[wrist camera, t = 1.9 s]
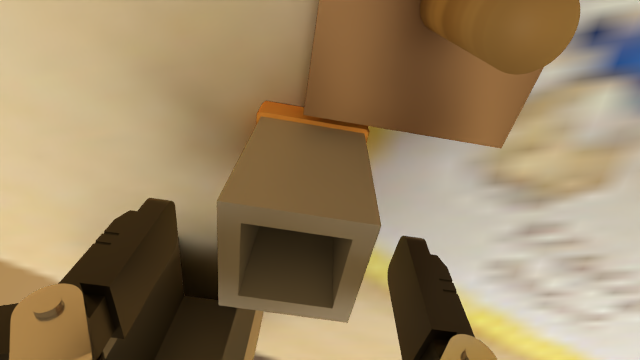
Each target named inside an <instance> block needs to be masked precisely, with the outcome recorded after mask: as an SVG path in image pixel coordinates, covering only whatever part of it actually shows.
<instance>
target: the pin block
mask: <svg viewBox="0 0 640 360" xmlns="http://www.w3.org/2000/svg"><path fill="white" fill-rule="evenodd" d="M579 18H580V3H579V0H319V6H318V13H317V20H316V27H315V35H314V42H313V49H312V56H311V63H310V70H309V77H308V85H307V92H306V99H305V106H304V113H303V115H307V116H313V117H318V118H324V119H330V120H336V121H342V122H348V123H354V124H360V125H366V126H372V127H378V128H384V129H390V130H396V131H402V132H408V133H414V134H420V135H426V136H432V137H437V138H443V139H449V140H455V141H461V142H467V143H473V144H479V145H485V146H491V147H497V148H502V146H503V144H504V142H505V140H506V138H507V136H508V134H509V132H510V130H511V129H512V127H513V125H514V123H515V121H516V119H517V117H518V115H519V113H520V111H521V109H522V108H523V106H524V104H525V102H526V100H527V98H528V96H529V94H530V92H531V90H532V88H533V86H534V85H535V83H536V81H537V79H538V77H539V75H540V73H541V71H542V69H543V67H544V66H546V65H547V64H549V63H550V62H552V61H553V60H554V59H555V58H557V57H558V56H559V55H560V54H561V53H562V52H563V50H564V49H565V48H566V47H567V45H568V44H569V43H570V41H571V39H572V38H573V36H574V34H575V31H576V29H577V26H578V22H579Z"/></svg>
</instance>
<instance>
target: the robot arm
mask: <svg viewBox="0 0 640 360" xmlns="http://www.w3.org/2000/svg"><path fill="white" fill-rule="evenodd" d="M177 238H178V231H177V221H176V211H175V204H174V202H173V201H168V200H161V199H154V198H149V199H147V200H146V201H145V203H144V204H143V205H142V206H141V207H140V209H139V210H138V211H128V212H126V213H125V214H123V215H121V216H120V217H118V218H116V219H115V220H114V221H113V222H112V223H111V224H110V225H109V227H108V228H107V229H106V230H105V231H104V234H102V235H101V236H100V237H99V238H98V239H97V240H96V243H95V244H93V245H92V246H91V247H90V248H89V249H88V251H87V252H86V253H85V254H84V255H83V256H82V257H81V259H80V260H79V261H78V262H77V263H76V264H75V265H74V267H73V268H72V269H71V270H70V271H69V272H68V273H67V275H66V276H65V277H64V278H63V279H62V280H61V281H60V282H59V283H58V284H54V285H50V286H46V287H43V288H41V289H39V290H36V291H34V292H33V293H31V294H30V295H28V296H27V297H25V298H24V299H23V300H22V301H21V302H20V303H17V304H10V305H3V306H0V360H105V356H104V352H103V349H104V348H105V346H106V344H107V343H108V341H109V339H110V338H119V339H125V338H126V336H127V334H128V332H129V330H130V329H131V327H132V325H133V323H134V322H135V320H136V318H137V316H138V314H139V313H140V311H141V309H142V307H143V306H144V304H145V302H146V300H147V298H148V297H149V295H150V293H151V291H152V290H153V288H154V286H155V284H156V282H157V281H158V279H159V277H160V275H161V274H162V272H163V270H164V268H165V266H166V265H167V263H168V261H169V259H170V258H171V256H172V254H173V252H174V250H175V247H176V244H177ZM388 285H389V291H390V296H391V301H392V307H393V312H394V318H395V323H396V328H397V334H398V339H399V344H400V350H401V355H402V360H497V358H496V356H495V355H494V353H493V352H492V351H491V350H490V349H489V347H488V346H486V345H485V344H484V343H483V342H482V341H480V340H478V339H477V338H475V336H474V334H473V332H472V329H471V326H470V324H469V321H468V319H467V316H466V314H465V311H464V309H463V306H462V304H461V301H460V299H459V296H458V294H456V289H455V286H454V284H453V283H452V278H451V276H450V273H449V271H448V268H447V267H446V265H445V264H444V263H443V262H442V261H441V260H440V258H439V257H438V256H437V255H431V254H430V252H429V249H428V247H427V244H426V241H425V240H424V239H422V238H415V237H408V236H402V237H401V238H400V240H399V242H398V245H397V247H396V250H395V252H394V255H393V257H392V259H391V262H390V264H389V268H388Z"/></svg>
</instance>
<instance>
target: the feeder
mask: <svg viewBox="0 0 640 360" xmlns="http://www.w3.org/2000/svg"><path fill="white" fill-rule="evenodd" d="M262 317H263V311H258V310H250V309H243V308H236V307H228V306H221V305H219V304H218V300H213V299H206V298H198V297H191V296H184V287H183V277H182V268H181V258H180V249H179V239H178V238H177V244H176V247H175V250H174V252H173V254H172V256H171V258H170V259H169V261H168V263H167V265H166V266H165V268H164V270H163V272H162V274H161V275H160V277H159V279H158V281H157V282H156V284H155V286H154V288H153V290H152V291H151V293H150V295H149V297H148V298H147V300H146V302H145V304H144V306H143V307H142V309H141V311H140V313H139V314H138V316H137V318H136V320H135V322H134V323H133V325H132V327H131V329H130V330H129V332H128V334H127V336H126V338H125V339H119V338H110V339H109V341H108V343H107V344H106V346H105V348H104V349H103V352H104V356H105V360H253V359H254V355H255V350H256V345H257V341H258V336H259V331H260V327H261V322H262Z"/></svg>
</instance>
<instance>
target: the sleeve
mask: <svg viewBox="0 0 640 360" xmlns="http://www.w3.org/2000/svg"><path fill="white" fill-rule="evenodd" d="M303 113H304V107H299V106H293V105H287V104H281V103H275V102H269V101H265V102H263V104H262V105H261V107H260V109H259V111H258V112H257V120H256V127H255V129H254V131H253V133H252V135H251V137H250V139H249V140H248V142H247V144H246V146H245V148H244V150H243V152H242V154H241V156H240V158H239V160H238V161H237V163H236V165H235V167H234V169H233V171H232V173H231V175H230V177H229V179H228V181H227V182H226V184H225V186H224V188H223V190H222V192H221V194H220V196H219V198H218V200H217V240H218V304H219V305H221V306H228V307H236V308H243V309H250V310H258V311H265V312H273V313H280V314H287V315H295V316H302V317H310V318H317V319H324V320H332V321H339V322H347V323H348V320H349V317H350V314H351V311H352V309H353V306H354V303H355V300H356V297H357V294H358V291H359V288H360V285H361V283H362V280H363V277H364V274H365V271H366V268H367V265H368V262H369V259H370V257H371V254H372V251H373V248H374V245H375V242H376V239H377V236H378V234H379V231H380V228H381V222H380V216H379V211H378V205H377V200H376V194H375V189H374V183H373V178H372V172H371V167H370V161H369V156H368V150H367V145H366V142H367V139H368V135H369V129H368V126H366V125H360V124H354V123H348V122H342V121H336V120H330V119H324V118H318V117H313V116H307V115H303Z"/></svg>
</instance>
